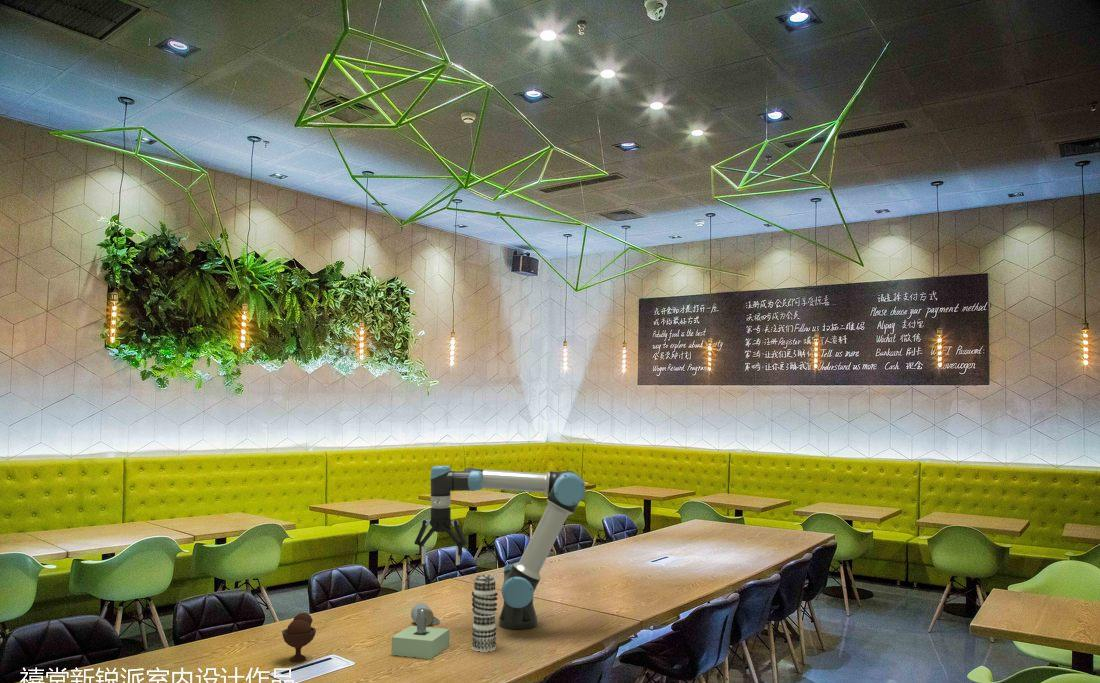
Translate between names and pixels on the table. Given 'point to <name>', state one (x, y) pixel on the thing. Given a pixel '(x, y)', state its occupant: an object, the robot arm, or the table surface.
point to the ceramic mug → (429, 616)
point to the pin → (421, 621)
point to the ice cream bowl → (299, 635)
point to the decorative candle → (484, 613)
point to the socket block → (420, 642)
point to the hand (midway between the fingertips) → (440, 564)
